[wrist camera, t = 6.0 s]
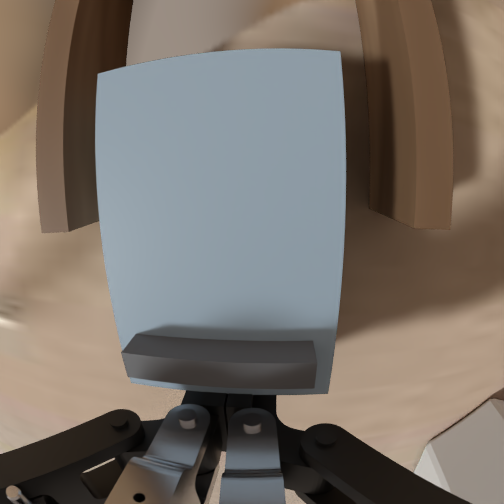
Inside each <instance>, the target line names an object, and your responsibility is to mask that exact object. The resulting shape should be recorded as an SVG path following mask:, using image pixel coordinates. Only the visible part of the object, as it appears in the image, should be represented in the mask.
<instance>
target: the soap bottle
mask: <svg viewBox="0 0 504 504" xmlns="http://www.w3.org/2000/svg"><path fill="white" fill-rule="evenodd" d="M414 473H415V474H416V475H418V476H420V477H422V478H424V479H425V480H427V481H429V482H431V483H433V484H435V485H436V486H438V487H440V488H442V489H444V490H446V491H448V492H450V493H452V494H454V495H456V496H458V497H460V498H462V499H464V500H466V501H468V502H470V503H472V504H504V401H503V400H499V399H489V400H487V401H486V402H485V403H484V404H482V405H481V406H480V407H478V408H477V409H476V410H475V411H473V412H472V413H471V414H469V415H468V416H466V417H465V418H464V419H462V420H461V421H459V422H458V423H457V424H455V425H454V426H452V427H451V428H449V429H448V430H446V431H445V432H443V433H442V434H440V435H439V436H437V437H435V438H434V439H432V440H431V441H429V442H428V443H427V445H426V447H425V449H424V452H423V454H422V456H421V458H420V461H419V463H418V465H417V467H416V469H415V471H414Z"/></svg>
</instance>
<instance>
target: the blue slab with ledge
mask: <svg viewBox="0 0 504 504" xmlns="http://www.w3.org/2000/svg"><path fill="white" fill-rule="evenodd" d="M95 156H96V182H97V197H98V210H99V221H100V230H101V239H102V247H103V254H104V261H105V268H106V274H107V280H108V286H109V291H110V297H111V302H112V307H113V312H114V317H115V321H116V326H117V330H118V335H119V339H120V343H121V347H122V352H121V354H122V357H123V361H124V365H125V368H126V372H127V375H128V377H130V380H131V383H135V384H142V385H148V386H155V387H163V388H171V389H180V390H189V391H200V392H218V393H228V394H229V393H237V394H252V395H308V394H328V390H329V384H330V377H331V371H332V364H333V357H334V349H335V341H336V333H337V324H338V315H339V305H340V294H341V283H342V270H343V255H344V236H345V210H346V134H345V109H344V91H343V77H342V65H341V54H340V51H329V50H314V49H244V50H228V51H217V52H207V53H198V54H190V55H184V56H177V57H170V58H165V59H159V60H154V61H149V62H144V63H140V64H135V65H130V66H126V67H122V68H118V69H114V70H110V71H106V72H103V73H99V74H98V78H97V93H96V119H95Z"/></svg>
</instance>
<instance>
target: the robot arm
mask: <svg viewBox="0 0 504 504" xmlns="http://www.w3.org/2000/svg"><path fill="white" fill-rule="evenodd" d="M221 451H225V452H226V464H225V473H223V474H222V478H221V488H220V500H219V504H286V501H285V491H284V488H286V489H290V490H294V491H295V493H296V494H297V495H298V496H299V497H300V498H301V499H302V500H303V501H304V502H305V503H306V504H472V503H470V502H468V501H466V500H464V499H462V498H460V497H458V496H456V495H454V494H452V493H450V492H448V491H446V490H444V489H442V488H440V487H438V486H436V485H435V484H433V483H431V482H429V481H427V480H425V479H424V478H422V477H420V476H418V475H416V474H415V473H413V472H411V471H409V470H408V469H406V468H404V467H403V466H401V465H399V464H398V463H396V462H394V461H393V460H391V459H389V458H388V457H386V456H384V455H383V454H381V453H380V452H378V451H376V450H375V449H373V448H372V447H370V446H369V445H367V444H365V443H364V442H362V441H361V440H359V439H358V438H356V437H355V436H353V435H352V434H350V433H349V432H347V431H346V430H344V429H343V428H341V427H339V426H337V425H334V424H326V423H323V424H317V425H314V426H311V427H309V428H308V429H307V430H306V431H302V430H297V429H293V428H290V427H288V426H286V425H284V424H283V423H282V422H281V421H280V420H279V419H278V417H277V414H276V395H252V394H237V393H229V394H228V393H218V392H200V391H189V390H186V393H185V395H184V398H183V400H182V403H181V405H179V406H177V407H175V408H173V409H172V410H170V411H169V412H168V414H167V415H166V417H165V418H164V419H160V420H151V421H141V420H140V418H139V416H138V415H137V414H136V413H134V412H133V411H130V410H126V409H118V410H113V411H111V412H108V413H106V414H104V415H102V416H99V417H97V418H95V419H92V420H90V421H88V422H85V423H83V424H81V425H78V426H76V427H73V428H71V429H69V430H66V431H64V432H61V433H59V434H56V435H53V436H51V437H48V438H46V439H43V440H40V441H38V442H35V443H32V444H29V445H27V446H24V447H21V448H18V449H15V450H12V451H9V452H6V453H3V454H0V504H209V501H210V497H211V494H212V491H213V488H214V484H215V481H216V478H217V475H218V471H219V461H220V456H221ZM112 458H115V460H113V461H111V462H109V463H107V464H104V465H102V466H100V467H98V468H96V469H94V470H91V471H89V472H86V473H82V472H84V471H85V470H88V469H90V468H92V467H94V466H97V465H99V464H101V463H103V462H105V461H107V460H110V459H112Z"/></svg>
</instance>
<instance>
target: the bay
mask: <svg viewBox="0 0 504 504" xmlns="http://www.w3.org/2000/svg"><path fill="white" fill-rule="evenodd" d="M132 5H133V0H55V4H54V8H53V12H52V15H51V20H50V24H49V29H48V33H47V38H46V43H45V49H44V55H43V61H42V68H41V75H40V84H39V94H38V106H37V125H36V170H37V189H38V202H39V213H40V222H41V230H42V233H54V232H70V231H72V230H75V229H78V228H80V227H83V226H86V225H89V224H92V223H95V222H97V221H99V210H98V197H97V182H96V156H95V119H96V93H97V78H98V74H99V73H103V72H106V71H110V70H114V69H118V68H122V67H126V56H127V46H128V36H129V27H130V20H131V12H132ZM356 6H357V12H358V18H359V24H360V31H361V38H362V45H363V54H364V63H365V72H366V84H367V96H368V113H369V137H370V199H369V209H372V210H374V211H376V212H379V213H381V214H383V215H385V216H388V217H390V218H392V219H394V220H396V221H399V222H401V223H403V224H405V225H407V226H410V227H412V228H414V229H444V230H450V225H451V213H452V197H453V132H452V116H451V104H450V94H449V86H448V78H447V72H446V65H445V59H444V54H443V48H442V43H441V38H440V34H439V29H438V25H437V21H436V17H435V13H434V10H433V6H432V2H431V0H356Z"/></svg>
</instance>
